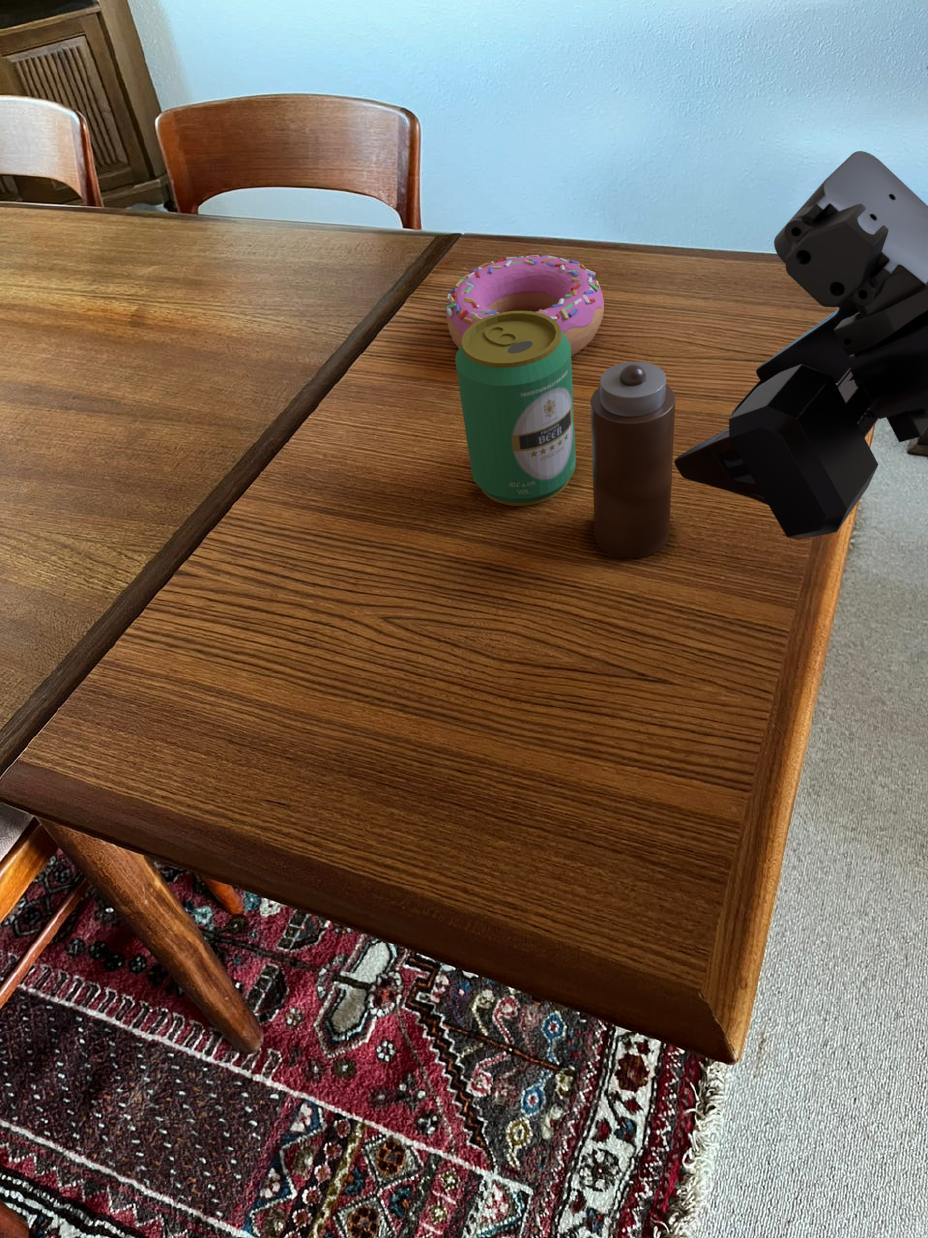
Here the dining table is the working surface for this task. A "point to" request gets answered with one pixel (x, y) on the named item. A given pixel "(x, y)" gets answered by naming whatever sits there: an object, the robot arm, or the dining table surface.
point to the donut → (529, 295)
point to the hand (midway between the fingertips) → (721, 420)
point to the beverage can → (518, 406)
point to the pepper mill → (632, 459)
